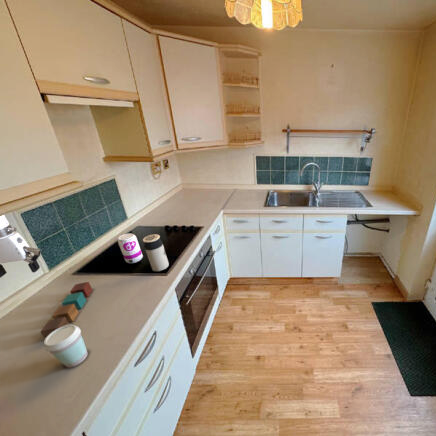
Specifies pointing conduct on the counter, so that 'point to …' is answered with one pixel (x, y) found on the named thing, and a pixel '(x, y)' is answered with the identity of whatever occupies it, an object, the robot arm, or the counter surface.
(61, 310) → the oak block
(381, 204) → the counter surface
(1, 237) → the robot arm
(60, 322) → the walnut block
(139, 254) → the supplement can
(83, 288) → the dark cherry block
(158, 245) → the travel mug
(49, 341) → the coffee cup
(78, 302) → the teal block
